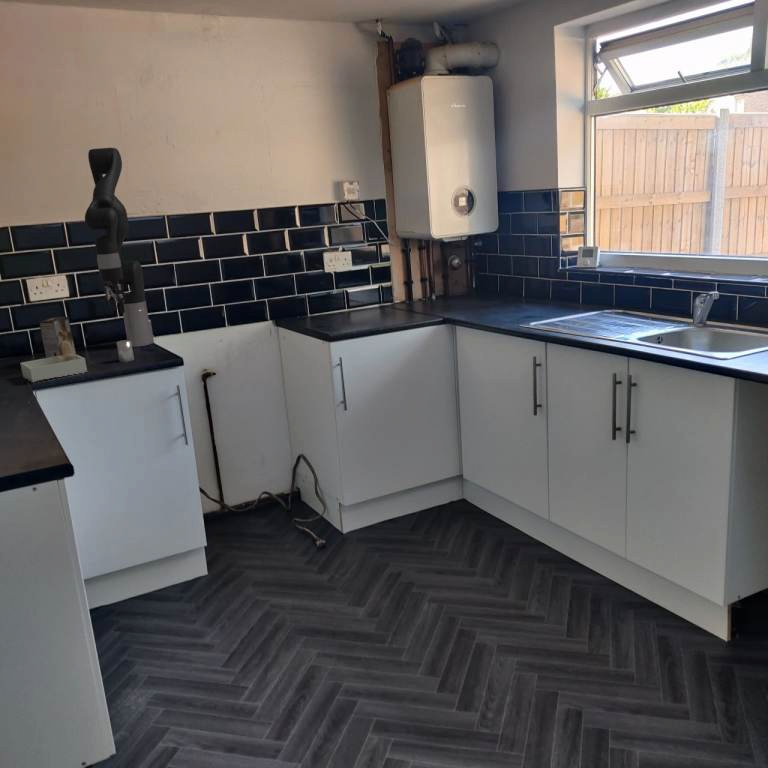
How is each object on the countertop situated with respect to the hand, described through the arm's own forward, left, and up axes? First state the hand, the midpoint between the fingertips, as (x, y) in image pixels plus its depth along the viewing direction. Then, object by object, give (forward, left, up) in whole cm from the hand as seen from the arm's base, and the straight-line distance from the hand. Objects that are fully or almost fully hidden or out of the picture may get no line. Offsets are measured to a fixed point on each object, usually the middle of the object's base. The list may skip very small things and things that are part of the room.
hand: (117, 311), depth 259 cm
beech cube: (+20, 0, -17) cm, 26 cm away
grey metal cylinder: (0, 0, -18) cm, 18 cm away
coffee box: (+17, -21, -18) cm, 32 cm away
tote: (+25, 0, -18) cm, 30 cm away
